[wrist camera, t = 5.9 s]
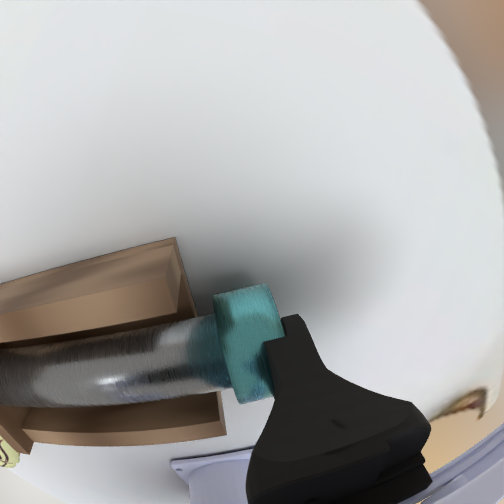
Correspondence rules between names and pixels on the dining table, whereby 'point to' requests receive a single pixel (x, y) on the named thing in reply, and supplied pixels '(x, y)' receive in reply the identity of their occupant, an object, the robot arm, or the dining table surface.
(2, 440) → the decorated donut
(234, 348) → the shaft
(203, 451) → the dining table surface
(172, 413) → the housing
